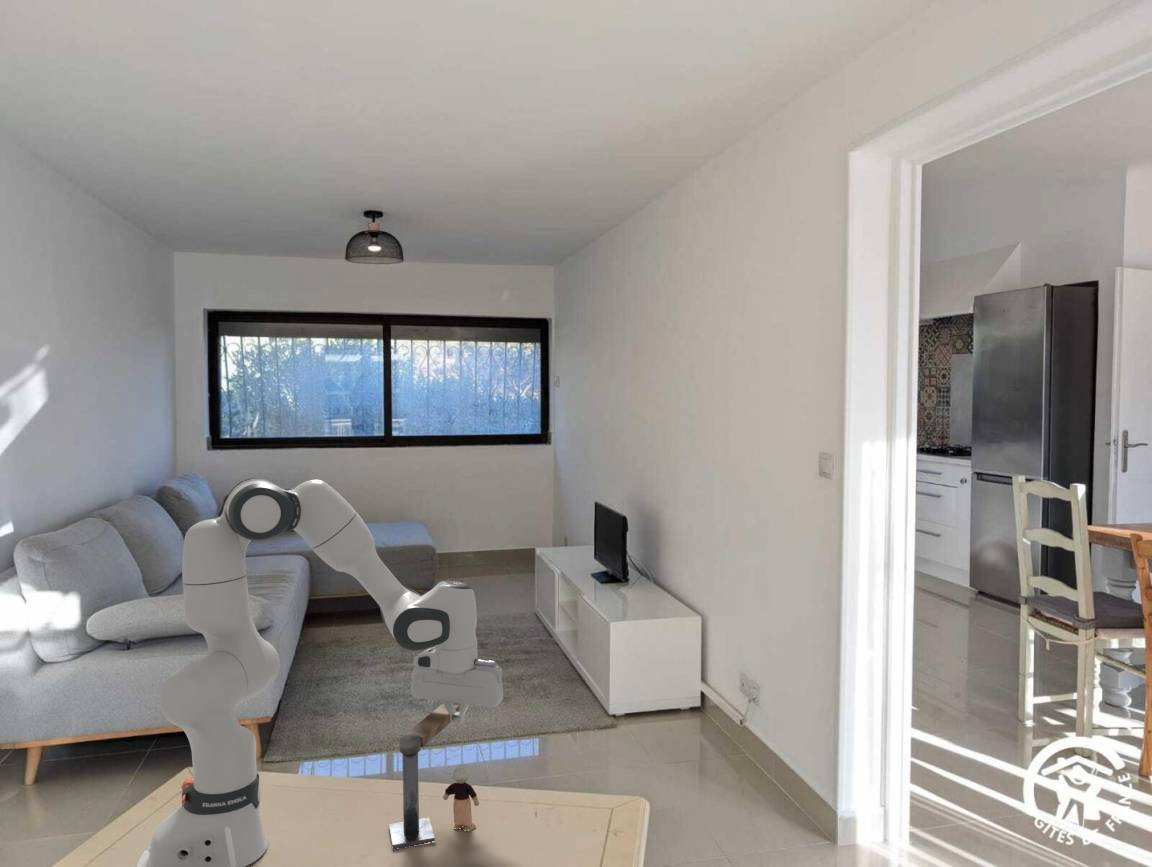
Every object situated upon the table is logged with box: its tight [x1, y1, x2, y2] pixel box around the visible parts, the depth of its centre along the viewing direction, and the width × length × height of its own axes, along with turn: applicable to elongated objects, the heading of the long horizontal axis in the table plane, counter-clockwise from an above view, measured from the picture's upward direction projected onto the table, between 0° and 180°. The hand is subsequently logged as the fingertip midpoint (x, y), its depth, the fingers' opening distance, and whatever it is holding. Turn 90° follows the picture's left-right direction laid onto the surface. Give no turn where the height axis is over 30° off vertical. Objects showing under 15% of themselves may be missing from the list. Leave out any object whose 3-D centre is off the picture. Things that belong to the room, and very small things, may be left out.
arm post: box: [388, 752, 436, 850], centre depth 162 cm, size 8×8×17 cm
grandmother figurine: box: [442, 764, 480, 832], centre depth 165 cm, size 8×4×13 cm, turn 84°
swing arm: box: [399, 703, 461, 754], centre depth 169 cm, size 20×4×2 cm, turn 163°
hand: (457, 721), depth 174 cm, fingers closed
